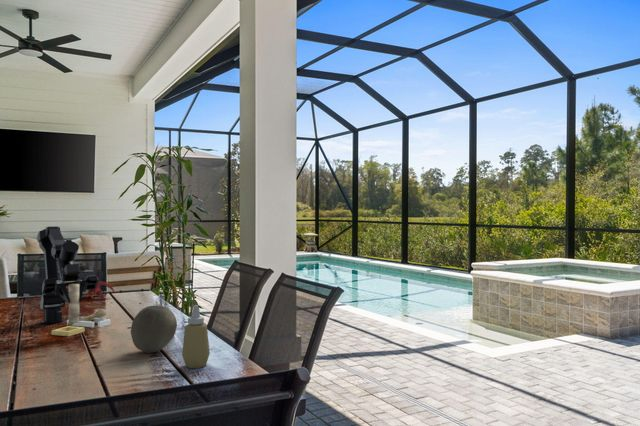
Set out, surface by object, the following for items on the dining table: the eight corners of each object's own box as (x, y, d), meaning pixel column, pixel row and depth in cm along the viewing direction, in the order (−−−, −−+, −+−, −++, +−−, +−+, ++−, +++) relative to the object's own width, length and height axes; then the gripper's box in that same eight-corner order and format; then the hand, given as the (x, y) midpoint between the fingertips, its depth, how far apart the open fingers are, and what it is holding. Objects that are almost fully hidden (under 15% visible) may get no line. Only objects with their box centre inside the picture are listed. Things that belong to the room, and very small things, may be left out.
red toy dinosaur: (71, 304, 286) (58, 286, 276) (78, 291, 293) (67, 273, 283) (117, 305, 282) (106, 287, 272) (124, 292, 288) (114, 274, 278)
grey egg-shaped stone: (151, 359, 159) (150, 311, 159) (121, 353, 166) (121, 307, 167) (185, 349, 171) (185, 304, 171) (156, 344, 178) (156, 301, 178)
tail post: (66, 322, 188) (66, 284, 188) (73, 320, 192) (73, 283, 192) (74, 323, 187) (74, 285, 187) (81, 321, 191) (81, 283, 191)
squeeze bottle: (184, 362, 156) (184, 303, 156) (211, 361, 157) (211, 302, 157) (179, 370, 148) (179, 308, 148) (207, 369, 149) (207, 307, 149)
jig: (36, 333, 196) (36, 328, 196) (81, 321, 217) (81, 316, 218) (69, 336, 191) (69, 330, 191) (112, 323, 213) (112, 318, 213)
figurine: (69, 331, 208) (107, 318, 213) (66, 320, 207) (104, 308, 213) (70, 329, 211) (108, 317, 216) (66, 318, 211) (105, 307, 216)
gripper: (43, 257, 187) (50, 290, 178) (97, 254, 198) (106, 286, 190) (38, 276, 193) (45, 310, 184) (91, 273, 205) (99, 304, 196)
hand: (74, 302), depth 188 cm, fingers closed on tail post, 4 cm apart
